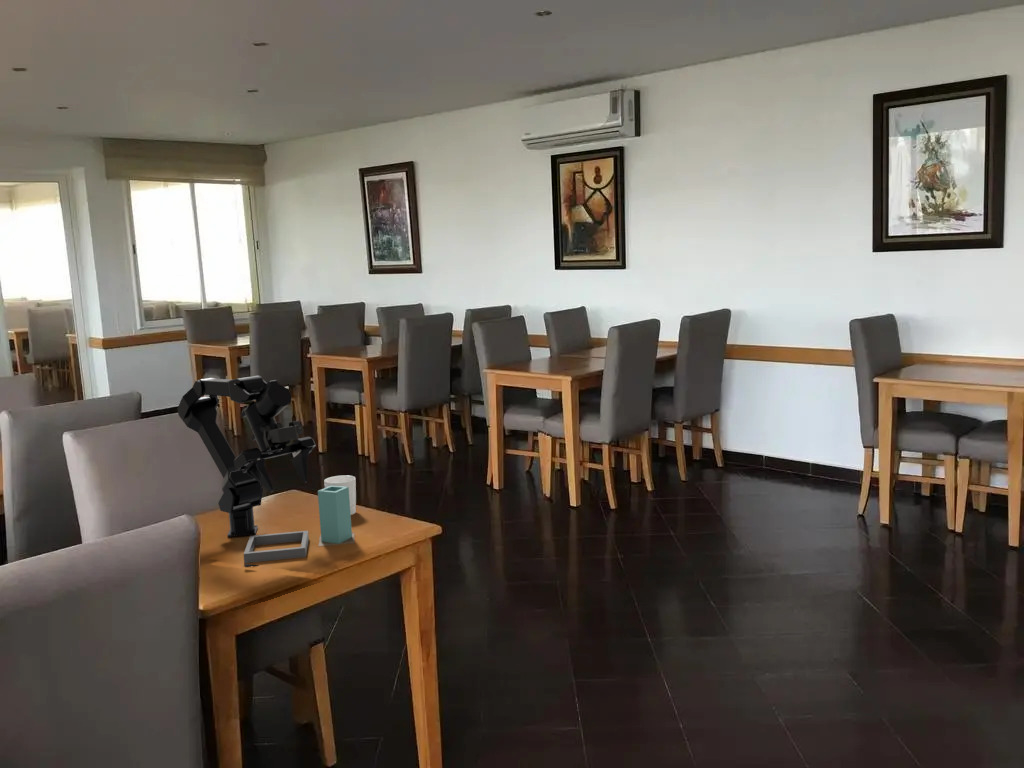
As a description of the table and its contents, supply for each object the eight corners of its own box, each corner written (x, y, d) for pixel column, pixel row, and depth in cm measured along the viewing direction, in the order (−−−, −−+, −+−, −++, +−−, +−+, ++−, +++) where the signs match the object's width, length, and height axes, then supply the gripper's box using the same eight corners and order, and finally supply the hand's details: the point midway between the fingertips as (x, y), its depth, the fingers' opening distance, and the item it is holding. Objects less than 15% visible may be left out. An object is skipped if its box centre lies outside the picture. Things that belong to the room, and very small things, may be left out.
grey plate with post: (320, 539, 203) (318, 523, 203) (354, 536, 205) (353, 520, 204) (318, 550, 196) (317, 533, 195) (354, 547, 197) (353, 530, 196)
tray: (251, 548, 199) (250, 535, 199) (309, 542, 201) (308, 530, 201) (244, 567, 187) (243, 553, 186) (306, 561, 189) (305, 547, 188)
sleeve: (321, 541, 199) (317, 490, 197) (334, 535, 203) (330, 485, 202) (339, 543, 197) (335, 492, 195) (352, 537, 201) (348, 486, 200)
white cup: (320, 520, 220) (318, 482, 218) (337, 511, 227) (334, 474, 225) (347, 522, 217) (344, 483, 215) (363, 513, 224) (361, 476, 223)
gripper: (243, 417, 188) (270, 481, 184) (314, 404, 202) (339, 464, 198) (222, 438, 194) (247, 501, 191) (291, 424, 208) (316, 483, 205)
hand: (289, 486), depth 196 cm, fingers open, 9 cm apart
